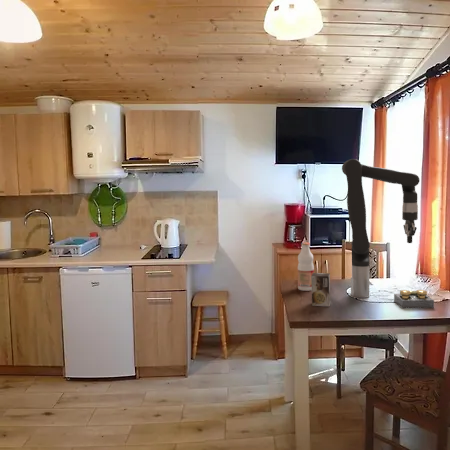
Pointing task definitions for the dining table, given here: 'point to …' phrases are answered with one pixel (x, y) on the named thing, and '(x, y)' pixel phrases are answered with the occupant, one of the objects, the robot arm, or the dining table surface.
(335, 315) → the dining table surface
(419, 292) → the brass knob
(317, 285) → the coffee box
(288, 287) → the dining table surface
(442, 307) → the dining table surface
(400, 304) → the level base plate
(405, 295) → the brass knob
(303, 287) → the fruit juice
